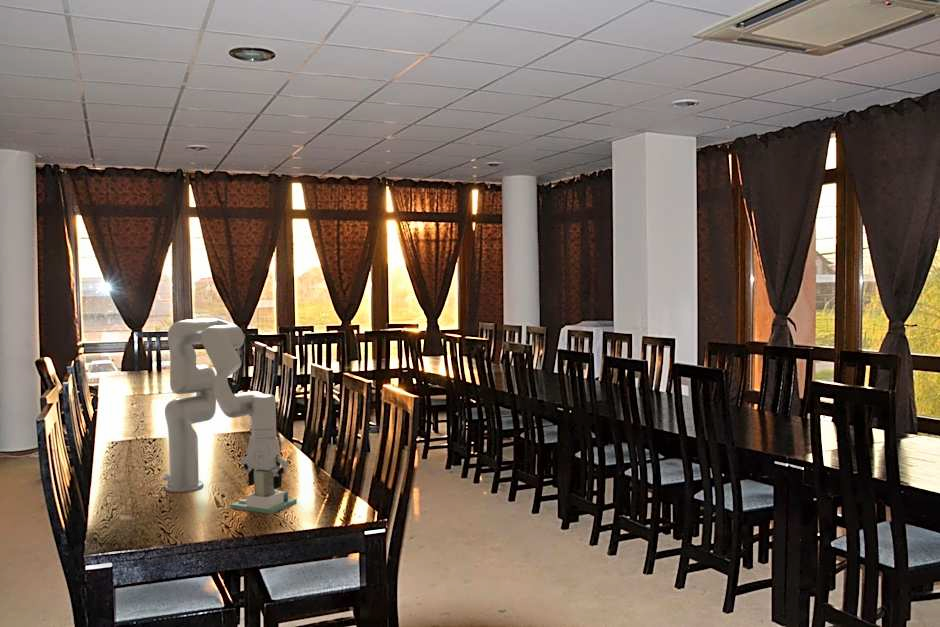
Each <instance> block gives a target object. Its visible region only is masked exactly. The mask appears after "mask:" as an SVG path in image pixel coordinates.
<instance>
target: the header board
mask: <svg viewBox="0 0 940 627" xmlns="http://www.w3.org/2000/svg"><path fill="white" fill-rule="evenodd" d="M283 492H284V502H283V503H281V504H278V505H276V506H274V507H271V508H269V509H264V508H256V507H249V506H247V500H246V498H243V499H242V498H240V499H239V500H238V501H235V502H233V503H230V508H231V509H234V510H235V509H236V510H240V511H241V510H242V511H248V510H249V512H254V513H255V512H257V513H262V514H271V515H272V514H276V513H278V512H280V511H282V510H284V509H286V508H288V507H290V506H293V505H295V504H297V498H290V497H289V491H283Z"/></svg>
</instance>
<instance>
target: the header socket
mask: <svg viewBox="0 0 940 627" xmlns="http://www.w3.org/2000/svg"><path fill="white" fill-rule="evenodd" d="M284 492H285V491H282V490H277V489H275V494H273V495H271V496H269V497H262V496H255V495H254V491H253V492H252V493H249V494H246V500H247V506H249V507H256V508H264V509H269V508H271V507H274V506H276V505H278V504H281V503H283V502H284Z"/></svg>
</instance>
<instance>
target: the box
mask: <svg viewBox="0 0 940 627" xmlns="http://www.w3.org/2000/svg"><path fill="white" fill-rule="evenodd" d="M274 476H275V475H274V473H273V472H272V470H270V471H266V470H257V469H255V471H254V485H253V492H254V495H255V496H262V497H269V496H271V495H273V494H275V490H276V489H274V484H273V477H274Z"/></svg>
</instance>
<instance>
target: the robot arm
mask: <svg viewBox="0 0 940 627" xmlns="http://www.w3.org/2000/svg"><path fill="white" fill-rule="evenodd" d="M244 342H245V334H244V332H243V330H242V328H241V327H239V326H238V325H237V324H235V323H232V322H229V321H226V320H223V319H220V318H212V317H211V318H210V317H208V318H193V319H183V320H178V321H176V322H173V323H172V324H171V326H169V329H168V331H167V344H168V349H169V354H170V357H169V358H170V359H169V362H170V364H169V370H170V371H169V372H170V373H169V385H170V386H169V387H170V389H171V391H172V392H173V394H175V395H186V394H187V395H188V394H189V395H190V394H193V393H195V394H196V395H191V396H184V397H179V398H178V397H177V398H175V399H172V400H170V401H169V402H167V404H166V405H165V408H164V416H165V421H166V425H167V432H168V433H167V434H168V453H169V454H168V458H169V460H168V462H169V473H165V474H164V476H162V481H166V482H167V484H166V485H165V486H164V488H165V491H167V492H171V493H186V492H193V491H197V490H200V489H202V488H203V487H204V482H203V481H202V480H199V479H200V478H199V477H200V476H199V440H198V435H197V432H196V430H195V429H194V428H193V426H192V424H197V423H204V422H207V421H210V420H211V419H213V417H214V416H215V413H216V409H217V404H218V407H219V408H220V410H221V411H222V413H223V414H224V415H225V416H226V417H228V418H230V419H231V418H232V419H233V418H240V417H245V416H251V428H249V433H251V437H249V439H248V440H249V441H248V446H247V455H245V456H244V457H242V458H241V461H242V462H241V463H242V465H243V468H244V469H245V471H246V474H248V475H247V476H248V486H254V471H256V470H266V471H270V470H272V472H273V473H274V477H273V484H274V489H275V490H277V489H280V488H282V475H283V474H284V473H285V472H286V470H287V467H288V465H289V462H288V461H287V460H285V459H284V458H283V457H281V448H280V443H279V437H277V416H276V415H277V414H276V413H277V410H276V409H277V407H276V403H277V402H276V396H275V395H273V394H270V393H263V392H260V391H257V390H251V391H244V392H243V391H242V392H238V393H233V392H232V391H233V390H232V389H231V387H230V386H229V381H228V378H229V377H230V376H231V375H233V374H234V373H236V372H237V371H238V370H239V369H240V368H241V365H242V360H241V357H240V356H239V354H238V352H237V351H236V350H237V349H239V348H241V347H242V346H243V345H244ZM196 344H198V345H201V344H202V345H203V347H204V350H205V352H206V353H207V356H208V358H209V360H210V362H211V363H212V366H213V367H214V369H215V370H214V369H213V368H212V367H211V366H210V365H208V364H197V352H196V350H195V348H194V346H193V345H196ZM215 372H216V373H215Z"/></svg>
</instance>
